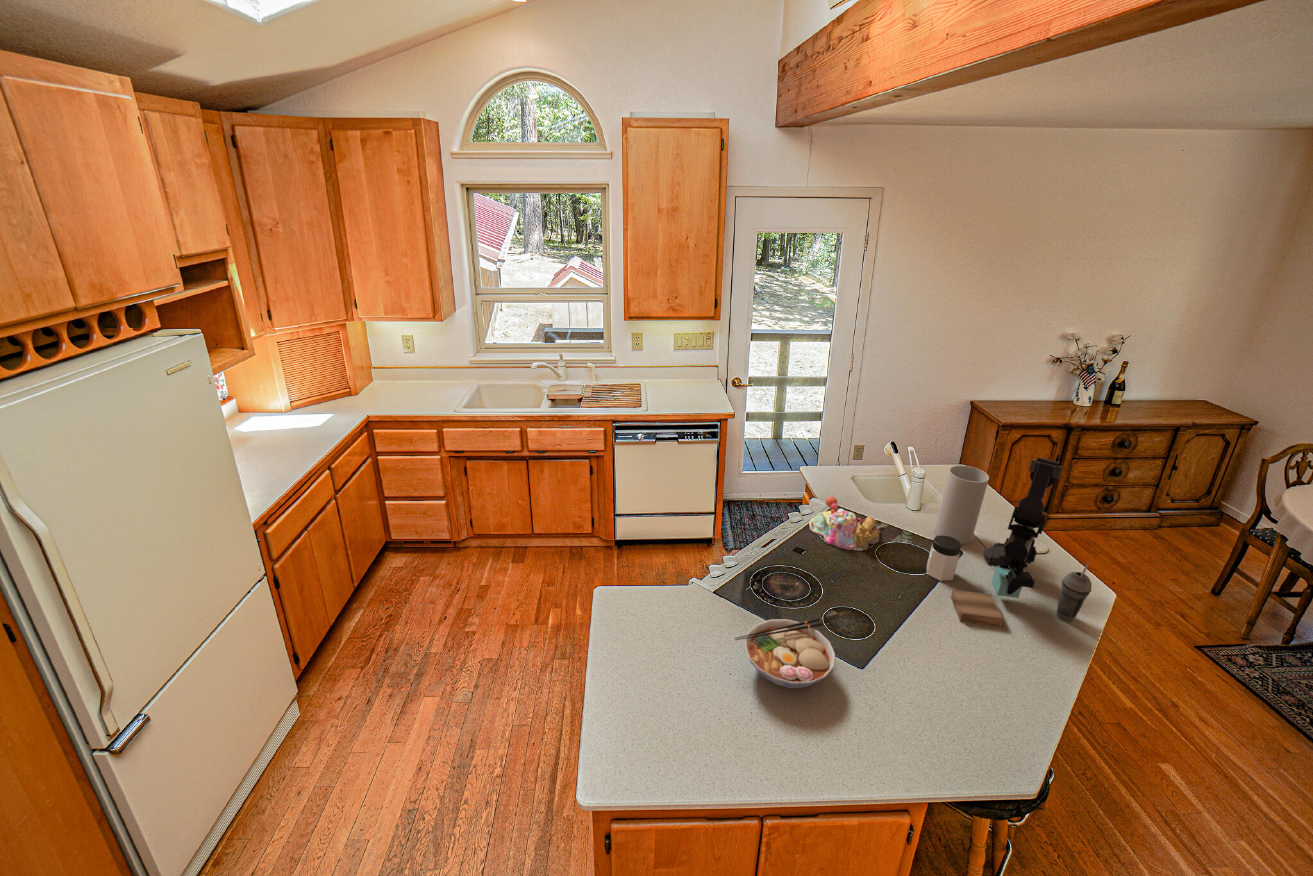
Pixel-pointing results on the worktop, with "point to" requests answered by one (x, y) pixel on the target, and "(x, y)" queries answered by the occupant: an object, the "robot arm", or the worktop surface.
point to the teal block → (1003, 583)
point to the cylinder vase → (961, 503)
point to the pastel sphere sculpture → (844, 528)
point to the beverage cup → (1073, 595)
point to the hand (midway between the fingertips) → (1005, 587)
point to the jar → (943, 558)
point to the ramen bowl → (789, 652)
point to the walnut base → (976, 608)
